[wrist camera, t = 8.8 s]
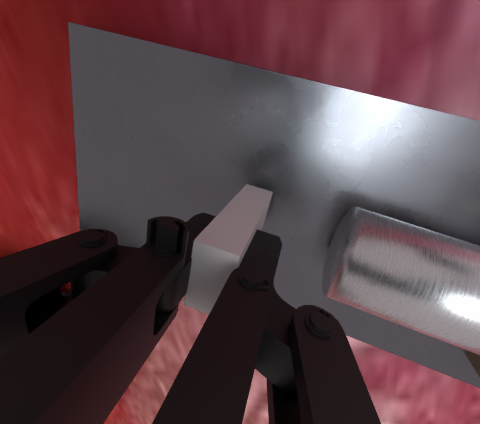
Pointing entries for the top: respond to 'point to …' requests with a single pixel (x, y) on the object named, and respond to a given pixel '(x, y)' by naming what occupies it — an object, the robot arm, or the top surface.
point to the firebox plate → (268, 164)
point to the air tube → (406, 276)
